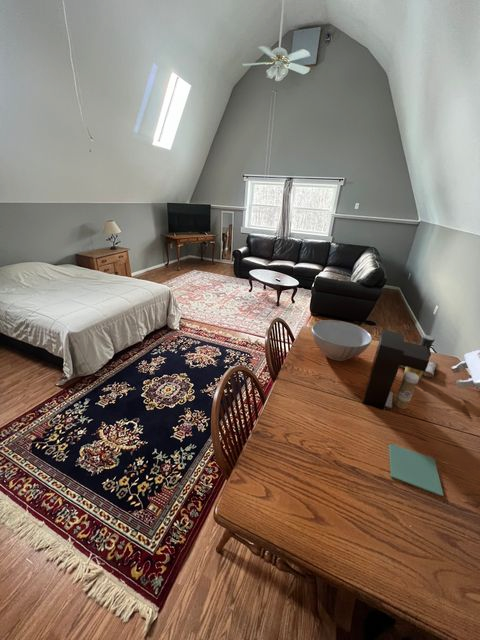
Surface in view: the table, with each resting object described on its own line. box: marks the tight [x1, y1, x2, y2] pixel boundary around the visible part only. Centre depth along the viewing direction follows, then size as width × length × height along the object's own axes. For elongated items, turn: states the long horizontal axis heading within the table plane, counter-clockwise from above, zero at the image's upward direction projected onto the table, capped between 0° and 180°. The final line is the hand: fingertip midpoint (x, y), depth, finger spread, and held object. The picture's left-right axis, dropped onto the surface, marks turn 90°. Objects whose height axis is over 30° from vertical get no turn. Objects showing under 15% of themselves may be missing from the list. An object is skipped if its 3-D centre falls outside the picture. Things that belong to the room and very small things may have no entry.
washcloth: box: [399, 360, 437, 378], centre depth 124 cm, size 12×18×3 cm, turn 50°
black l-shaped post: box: [362, 329, 430, 411], centre depth 96 cm, size 14×14×25 cm
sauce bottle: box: [403, 334, 436, 380], centre depth 111 cm, size 7×6×20 cm
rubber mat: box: [388, 443, 444, 498], centre depth 76 cm, size 12×12×1 cm
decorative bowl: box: [311, 319, 373, 362], centre depth 128 cm, size 27×27×12 cm
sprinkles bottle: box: [393, 371, 420, 410], centre depth 97 cm, size 5×5×13 cm
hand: (454, 377), depth 88 cm, fingers open, 8 cm apart
